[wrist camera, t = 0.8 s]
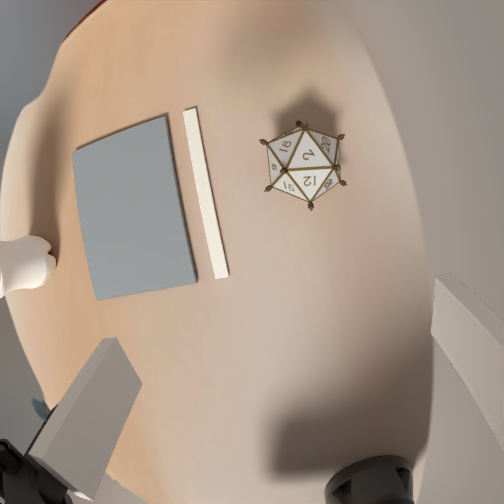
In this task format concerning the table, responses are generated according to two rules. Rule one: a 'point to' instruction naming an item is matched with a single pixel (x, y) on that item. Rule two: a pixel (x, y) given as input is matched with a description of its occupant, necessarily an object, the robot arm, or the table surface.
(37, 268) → the water bottle
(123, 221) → the mat
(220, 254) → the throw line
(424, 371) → the table surface
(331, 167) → the game die
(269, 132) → the table surface
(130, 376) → the robot arm
